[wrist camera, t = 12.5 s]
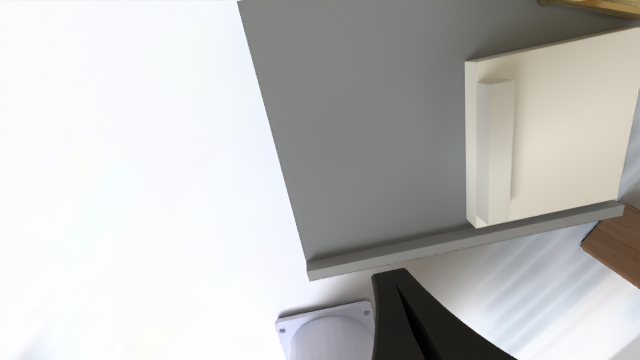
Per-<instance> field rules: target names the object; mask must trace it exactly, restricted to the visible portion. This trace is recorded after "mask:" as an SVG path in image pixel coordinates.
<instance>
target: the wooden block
mask: <svg viewBox="0 0 640 360" xmlns="http://www.w3.org/2000/svg"><path fill="white" fill-rule="evenodd" d="M622 204H624V205H625V207H624V211H623V216H618V217H613V218H609V219H604V220H601V221H600V223H599V224H598V225H597V226H596V227H595V228H594V229H593V230H592V232H591V233H590V234H589V235H588V236H587V237H586V238H585V240H584V241H583V242H582V243H581V247H582V248H583V250H584V251H586V252H587V253H589V254H590V255H591V256H593V257H594V258H596V259H597V260H599V261H600V262H602V263H603V264H604V265H606V266H607V267H609V268H610V269H612V270H613V271H615V272H616V273H617V274H619V275H620V276H622V277H623V278H625V279H626V280H627V281H629V282H630V283H632V284H633V285H635V286H636V287H638V288H639V289H640V210H639V209H636V208H634V207H632V206H630V205H628V204H626V203H622Z"/></svg>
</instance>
